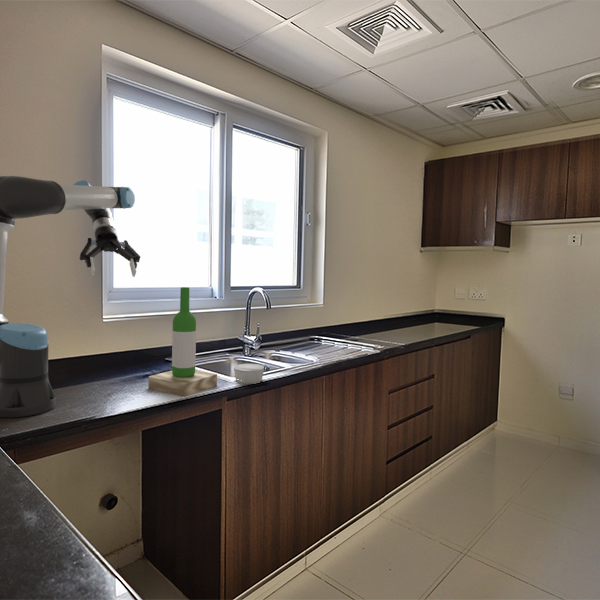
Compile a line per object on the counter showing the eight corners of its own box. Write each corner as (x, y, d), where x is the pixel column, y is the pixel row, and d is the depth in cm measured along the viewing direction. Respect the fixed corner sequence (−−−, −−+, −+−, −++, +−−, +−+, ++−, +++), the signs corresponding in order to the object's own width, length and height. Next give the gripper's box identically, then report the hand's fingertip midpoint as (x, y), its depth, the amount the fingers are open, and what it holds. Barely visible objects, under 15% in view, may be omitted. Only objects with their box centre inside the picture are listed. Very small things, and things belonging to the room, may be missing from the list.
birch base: (183, 396, 138) (184, 384, 137) (148, 388, 145) (148, 376, 145) (216, 385, 152) (217, 374, 151) (182, 378, 159) (183, 367, 159)
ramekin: (237, 386, 152) (237, 371, 152) (230, 378, 163) (230, 364, 162) (267, 383, 157) (268, 369, 156) (259, 376, 167) (259, 362, 167)
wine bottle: (186, 371, 154) (187, 286, 152) (199, 375, 149) (201, 288, 147) (167, 375, 148) (168, 287, 146) (180, 379, 143) (182, 288, 141)
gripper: (137, 242, 173) (148, 281, 162) (67, 237, 159) (73, 280, 148) (141, 227, 169) (152, 267, 158) (69, 222, 154) (76, 264, 143)
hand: (114, 273), depth 153 cm, fingers open, 13 cm apart
